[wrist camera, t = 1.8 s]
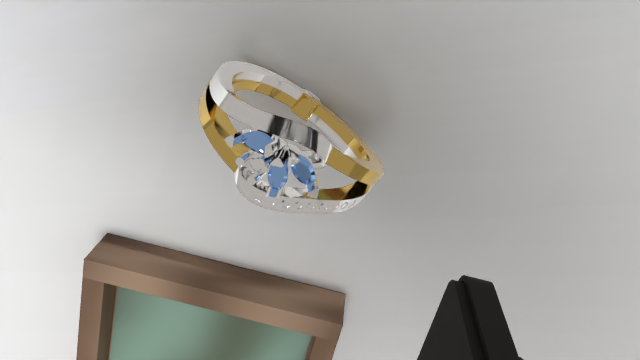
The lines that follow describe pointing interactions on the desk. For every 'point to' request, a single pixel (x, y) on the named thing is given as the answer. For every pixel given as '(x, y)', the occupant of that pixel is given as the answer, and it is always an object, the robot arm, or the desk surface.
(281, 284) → the jewellery tray
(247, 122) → the ring
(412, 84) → the desk surface
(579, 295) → the desk surface
